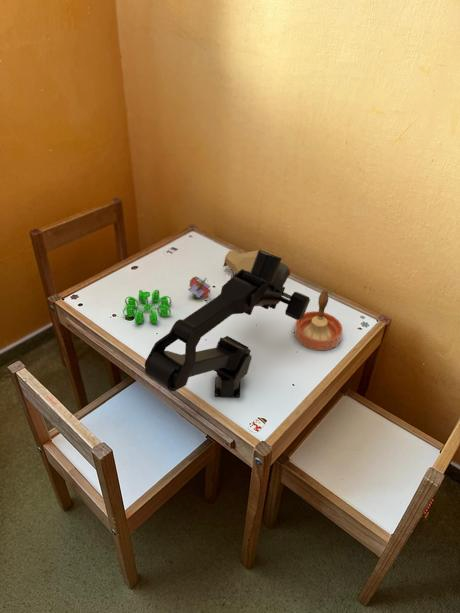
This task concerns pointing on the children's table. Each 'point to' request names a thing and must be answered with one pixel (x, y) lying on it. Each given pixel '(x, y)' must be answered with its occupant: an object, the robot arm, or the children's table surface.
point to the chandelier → (147, 306)
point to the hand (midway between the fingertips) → (285, 295)
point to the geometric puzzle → (199, 287)
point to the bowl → (318, 344)
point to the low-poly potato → (240, 260)
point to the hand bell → (319, 321)
